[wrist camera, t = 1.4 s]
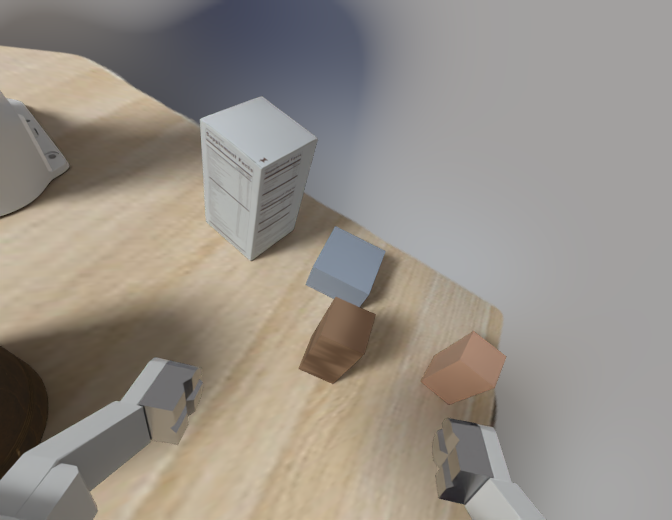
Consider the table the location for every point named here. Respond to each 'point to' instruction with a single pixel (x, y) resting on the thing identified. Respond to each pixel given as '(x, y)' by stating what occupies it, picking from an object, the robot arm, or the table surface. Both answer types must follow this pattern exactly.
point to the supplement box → (254, 173)
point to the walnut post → (338, 341)
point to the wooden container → (19, 409)
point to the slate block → (346, 267)
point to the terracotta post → (464, 369)
